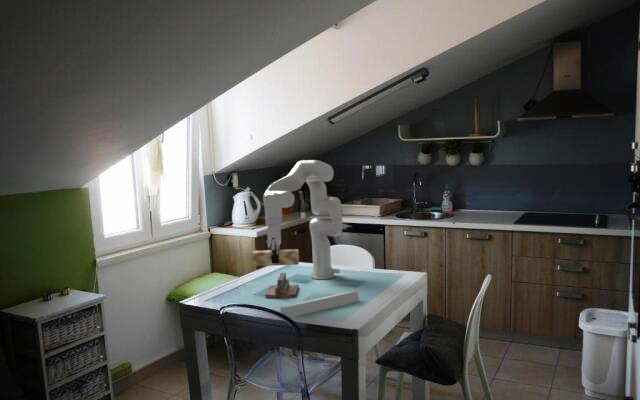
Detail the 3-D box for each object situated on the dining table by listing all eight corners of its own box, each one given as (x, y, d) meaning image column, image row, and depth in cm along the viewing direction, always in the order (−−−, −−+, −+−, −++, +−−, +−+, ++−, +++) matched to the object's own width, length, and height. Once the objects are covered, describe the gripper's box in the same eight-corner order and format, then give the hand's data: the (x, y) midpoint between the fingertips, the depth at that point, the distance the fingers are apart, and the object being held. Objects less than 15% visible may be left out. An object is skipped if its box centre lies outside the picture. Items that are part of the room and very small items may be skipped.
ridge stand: (298, 287, 257) (297, 271, 256) (295, 297, 241) (294, 280, 240) (270, 288, 257) (269, 272, 256) (265, 298, 241) (264, 281, 240)
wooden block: (299, 262, 233) (298, 249, 232) (298, 264, 228) (297, 251, 228) (254, 263, 234) (254, 250, 233) (253, 266, 230) (252, 252, 229)
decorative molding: (281, 318, 221) (292, 318, 213) (279, 307, 222) (290, 306, 213) (347, 302, 239) (359, 301, 231) (345, 292, 240) (357, 291, 231)
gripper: (268, 218, 237) (270, 257, 240) (262, 224, 221) (264, 266, 223) (284, 217, 237) (286, 257, 239) (280, 223, 220) (282, 266, 222)
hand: (276, 261), depth 231 cm, fingers closed on wooden block, 4 cm apart
